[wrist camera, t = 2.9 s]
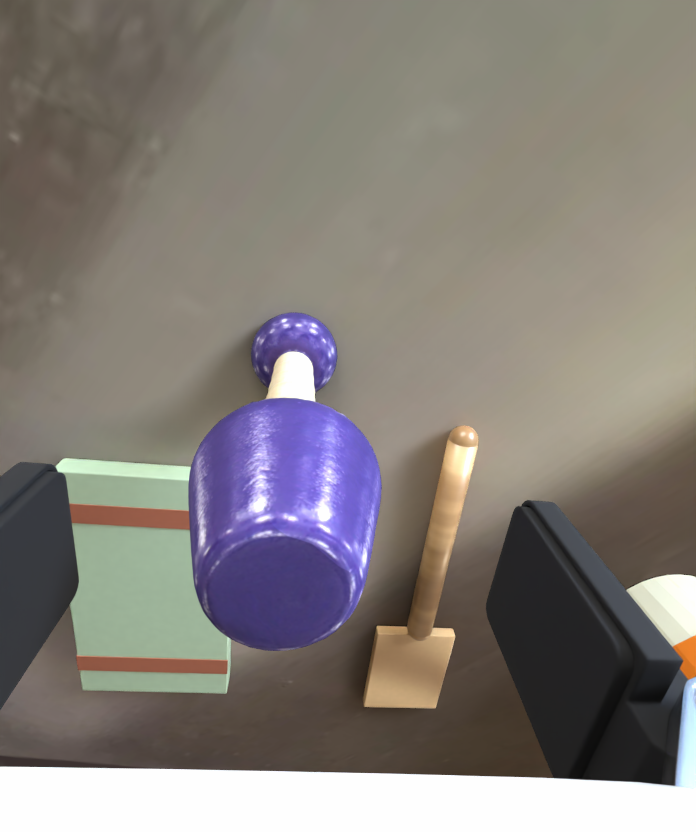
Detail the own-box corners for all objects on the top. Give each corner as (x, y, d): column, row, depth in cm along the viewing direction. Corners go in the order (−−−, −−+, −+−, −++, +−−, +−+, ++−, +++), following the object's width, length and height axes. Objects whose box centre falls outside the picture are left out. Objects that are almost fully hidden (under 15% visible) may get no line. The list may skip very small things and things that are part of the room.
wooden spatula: (433, 699, 34) (438, 721, 33) (362, 698, 34) (364, 720, 32) (507, 424, 26) (519, 437, 24) (415, 417, 25) (421, 429, 24)
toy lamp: (272, 287, 22) (176, 446, 7) (362, 324, 23) (454, 536, 8) (240, 377, 24) (105, 668, 8) (325, 408, 25) (343, 720, 9)
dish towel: (91, 671, 31) (81, 691, 30) (63, 457, 25) (48, 470, 24) (230, 674, 32) (226, 694, 31) (236, 469, 26) (232, 483, 25)
